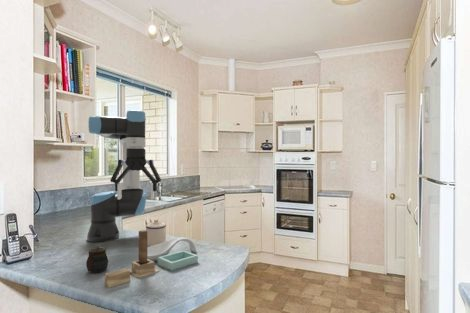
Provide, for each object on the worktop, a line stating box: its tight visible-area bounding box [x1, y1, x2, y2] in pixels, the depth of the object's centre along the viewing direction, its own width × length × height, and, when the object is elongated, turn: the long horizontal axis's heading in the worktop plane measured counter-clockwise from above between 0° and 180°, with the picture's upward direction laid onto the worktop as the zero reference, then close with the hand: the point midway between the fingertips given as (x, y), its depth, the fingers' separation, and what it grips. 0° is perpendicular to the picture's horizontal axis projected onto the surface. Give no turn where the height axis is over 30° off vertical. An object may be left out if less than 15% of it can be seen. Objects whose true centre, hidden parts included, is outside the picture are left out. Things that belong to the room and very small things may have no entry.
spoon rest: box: [147, 236, 197, 262], centre depth 129 cm, size 24×12×7 cm, turn 124°
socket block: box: [129, 259, 160, 279], centre depth 111 cm, size 8×8×4 cm
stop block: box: [104, 267, 131, 288], centre depth 101 cm, size 3×7×4 cm, turn 136°
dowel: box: [138, 229, 148, 265], centre depth 111 cm, size 3×3×14 cm
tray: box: [157, 250, 199, 272], centre depth 119 cm, size 9×12×3 cm
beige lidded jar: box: [145, 218, 167, 247], centre depth 147 cm, size 12×9×12 cm
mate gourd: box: [85, 246, 109, 274], centre depth 112 cm, size 7×8×10 cm
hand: (136, 199), depth 130 cm, fingers open, 13 cm apart
